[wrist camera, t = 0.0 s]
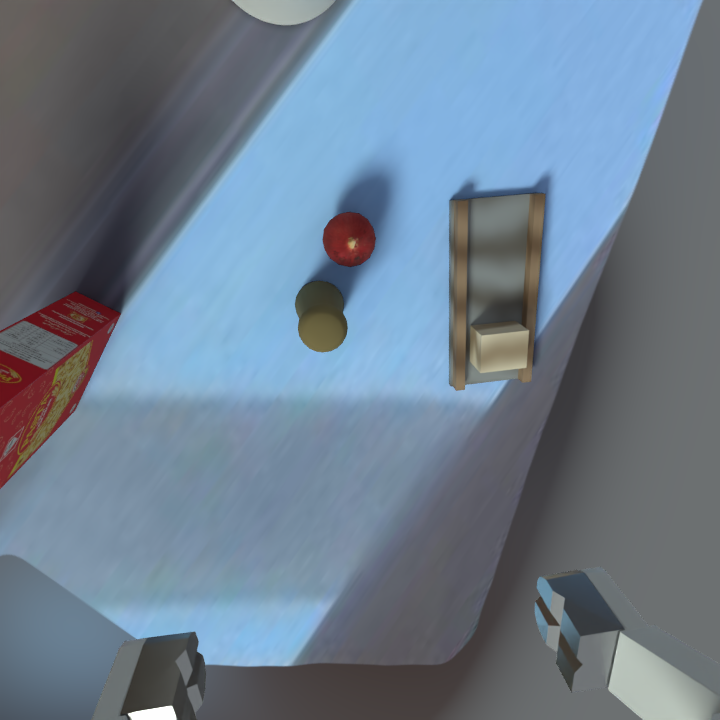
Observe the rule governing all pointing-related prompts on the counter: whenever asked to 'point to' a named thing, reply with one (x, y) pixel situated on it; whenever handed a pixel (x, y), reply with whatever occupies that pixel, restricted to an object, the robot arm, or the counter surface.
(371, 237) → the onion
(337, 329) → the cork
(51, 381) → the food packaging
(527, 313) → the chute
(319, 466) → the counter surface
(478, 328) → the birch block
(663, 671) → the robot arm
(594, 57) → the counter surface
